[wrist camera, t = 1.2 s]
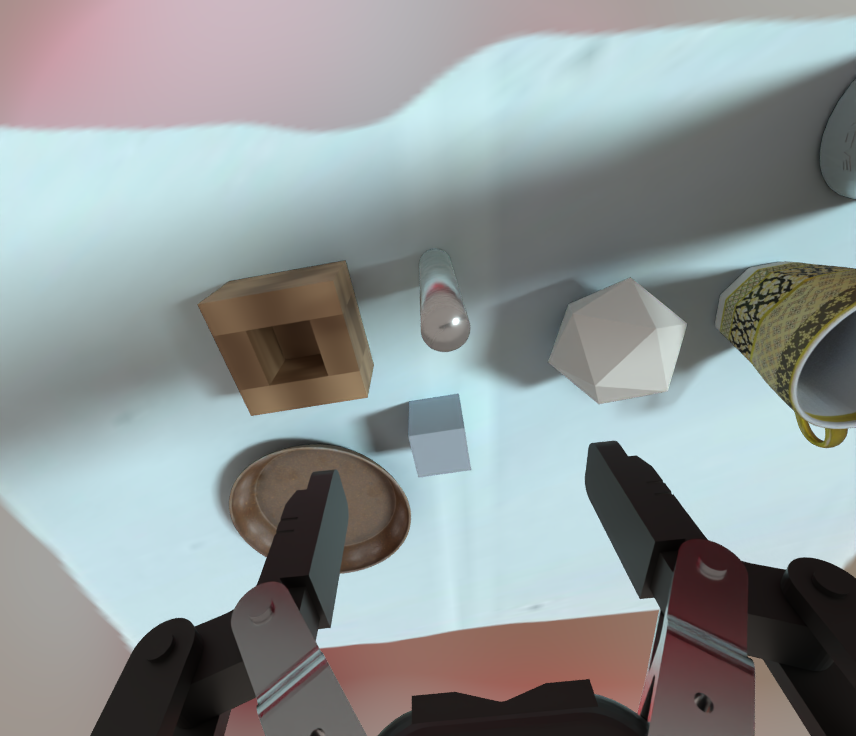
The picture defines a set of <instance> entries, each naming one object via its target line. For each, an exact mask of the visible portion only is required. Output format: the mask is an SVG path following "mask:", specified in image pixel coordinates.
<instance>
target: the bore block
mask: <svg viewBox="0 0 856 736" xmlns="http://www.w3.org/2000/svg"><path fill="white" fill-rule="evenodd" d="M198 307H199V309H200V311H201V313H202V315H203V317H204V319H205V321H206V323H207V325H208V327H209V329H210V331H211V334H212V336H213V338H214V340H215V342H216V344H217V346H218V348H219V350H220V352H221V354H222V356H223V358H224V361H225V363H226V365H227V367H228V369H229V371H230V373H231V375H232V377H233V379H234V381H235V383H236V385H237V388H238V390H239V392H240V394H241V396H242V398H243V400H244V402H245V404H246V406H247V408H248V410H249V412H250V415H251V416H254V415H260V414H266V413H273V412H279V411H285V410H292V409H298V408H304V407H311V406H317V405H323V404H330V403H336V402H343V401H349V400H355V399H362V398H368V393H369V387H370V382H371V377H372V372H373V367H374V364H373V360H372V356H371V353H370V349H369V345H368V342H367V338H366V334H365V331H364V327H363V323H362V320H361V316H360V312H359V308H358V305H357V301H356V297H355V294H354V290H353V286H352V283H351V279H350V275H349V272H348V268H347V264H346V261H339V262H334V263H328V264H322V265H317V266H311V267H306V268H300V269H295V270H289V271H283V272H278V273H272V274H267V275H261V276H256V277H250V278H244V279H239V280H233V281H229V282H228V283H226V284H225V285H223V286H222V287H221V288H219V289H218V290H217V291H215V292H214V293H212V294H211V295H210V296H208V297H207V298H206V299H204V300H203V301H201V302H200V303H199V304H198Z"/></svg>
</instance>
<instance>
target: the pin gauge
mask: <svg viewBox="0 0 856 736" xmlns="http://www.w3.org/2000/svg"><path fill="white" fill-rule="evenodd" d="M419 277H420V316H421V335H422V338H423V340H424V342H425V343H426V344H427V345H428V346H429V347H430V348H432V349H434V350H436V351H440V352H449V351H453V350H456V349H458V348H459V347H461V346H462V345H463V344H464V343H465V342H466V340H467V339H468V337H469V334H470V323H469V320H468V316H467V313H466V310H465V306H464V303H463V300H462V296H461V293H460V290H459V286H458V283H457V280H456V276H455V273H454V270H453V266H452V263H451V260H450V257H449V256H448V254H447V253H446V252H444V251H443V250H440V249H430V250H428V251H426V252H425V253H424V254H423V255H422V257H421V259H420V262H419Z"/></svg>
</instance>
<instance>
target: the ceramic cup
mask: <svg viewBox="0 0 856 736" xmlns="http://www.w3.org/2000/svg"><path fill="white" fill-rule="evenodd" d="M715 327H716V328H717V329H718V330H719V331H720V332H721V334H723V335H724V336H725V337H726V338H727V339H728V340H729V341H730V342H731V343H732V344H733V345H734V346H735V347H736V348H737V349H738V350H739V351H740V352H741V353H742V354H743V355H744V356H745V357H746V358H747V359H748V360H749V361H750V362H751V363H752V364H753V366H754V367H755V369H756V370H757V371H758V373H759V374H760V375H761V376H762V378H763V379H764V380H765V381H766V383H767V384H768V385H769V386H770V387H771V388H772V389H773V390H774V391H775V392H776V393H777V394H778V396H779V397H780V398H781V399H782V400H783V401H784V402H785V403H786V404H787V405H788V406H789V407H790V408H792V409H793V410H794V412H795V415H796V419H797V422H798V425H799V428H800V430H801V432H802V434H803V435H804V436H805V438H806V439H807V440H808V441H809V442H811V443H812V444H814V445H816V446H818V447H822V448H831V447H835V446H837V445H839V444H840V443H842V442H843V440H844V439H845V438H846V436H847V431H848V428H856V269H854V268H847V267H837V266H826V265H815V264H806V263H798V262H786V261H785V262H775V263H770V264H765V265H760V266H754V267H750V268H748V269H747V270H746V271H745V272H744V273H743V274H742V275H740V276H739V277H738V278H737V279H736V280H735V281H734V282H733V283H732V284H731V285H730V286H729V287H728V288H727V289H726V290H725V291H724V292H722V293H721V295H720V298H719V303H718V309H717V314H716V320H715ZM808 422H809V423H811V424H813V425H815V426H819V427H823V428H825V440H824V441H822V440H820V439H819V438H817V437H816V436H815V434H814V433H813V432H812V430H811V428H810V426H809V423H808Z"/></svg>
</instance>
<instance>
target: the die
mask: <svg viewBox="0 0 856 736" xmlns="http://www.w3.org/2000/svg"><path fill="white" fill-rule="evenodd" d="M686 327H687V323H686V322H685V321H684V320H682V319H681V318H680V317H679V316H677V315H676V314H675V313H674V312H672V311H671V310H670V309H669V308H668V307H666V306H665V305H664V304H663V303H661V302H660V301H659V300H658V299H656V298H655V297H654V296H653V295H652V294H650V293H649V292H648V291H647V290H645V289H644V288H643V287H642V286H640V285H639V284H638V283H637V282H636V281H634V280H633V279H632V278H631V277H630V278H628V279H625V280H623V281H621V282H618V283H616V284H614V285H611V286H609V287H607V288H604V289H602V290H600V291H598V292H595V293H593V294H591V295H588V296H586V297H584V298H581V299H579V300H577V301H574V302H572V303H570V304H568V306H567V309H566V312H565V315H564V318H563V321H562V324H561V326H560V329H559V332H558V335H557V338H556V341H555V344H554V346H553V349H552V352H551V355H550V358H549V361H548V363H550V364H551V365H552V366H553V367H554V368H556V369H557V370H558V371H559V372H560V373H562V374H563V375H564V376H565V377H566V378H568V379H569V380H570V381H571V382H573V383H574V384H575V385H576V386H577V387H579V388H580V389H581V390H582V391H583V392H585V393H586V394H587V395H588V396H589V397H591V398H592V399H593V400H594V401H595V402H597V403H598V404H603V403H608V402H614V401H619V400H624V399H630V398H635V397H641V396H646V395H651V394H657V393H662V392H667V391H668V389H669V385H670V382H671V378H672V375H673V372H674V368H675V365H676V361H677V358H678V355H679V351H680V348H681V344H682V341H683V338H684V334H685V331H686Z"/></svg>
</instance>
